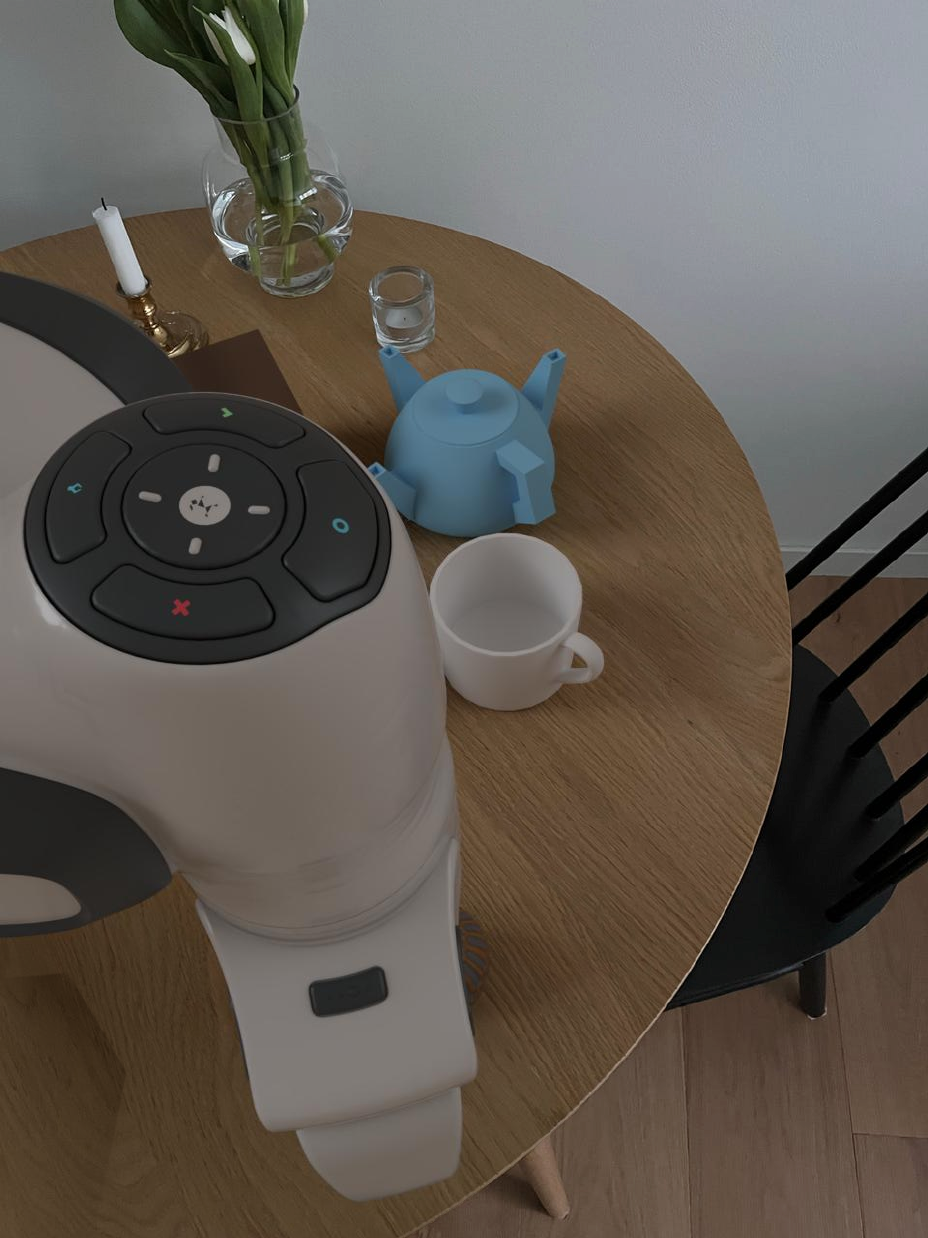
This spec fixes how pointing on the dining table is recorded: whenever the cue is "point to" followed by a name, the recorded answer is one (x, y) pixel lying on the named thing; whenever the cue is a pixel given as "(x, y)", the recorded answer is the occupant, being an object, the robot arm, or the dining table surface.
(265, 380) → the stand
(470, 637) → the mug
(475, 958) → the vase
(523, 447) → the teapot
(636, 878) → the dining table surface
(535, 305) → the dining table surface
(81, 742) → the robot arm
